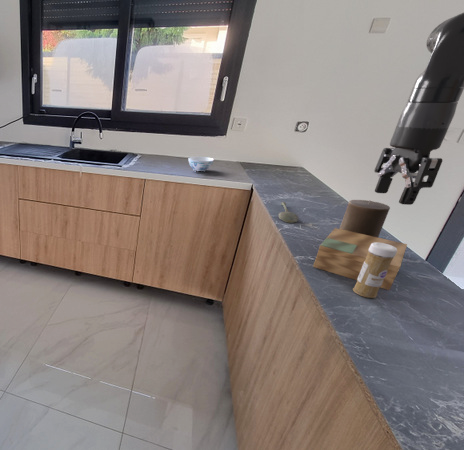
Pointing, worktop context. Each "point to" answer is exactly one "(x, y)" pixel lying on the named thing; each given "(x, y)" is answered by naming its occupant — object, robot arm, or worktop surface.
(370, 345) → the worktop surface
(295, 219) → the soupspoon
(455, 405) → the worktop surface
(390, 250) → the sprinkles bottle
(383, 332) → the worktop surface
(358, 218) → the pillar candle
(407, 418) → the worktop surface
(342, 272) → the labeled wooden box
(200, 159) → the chinaware
